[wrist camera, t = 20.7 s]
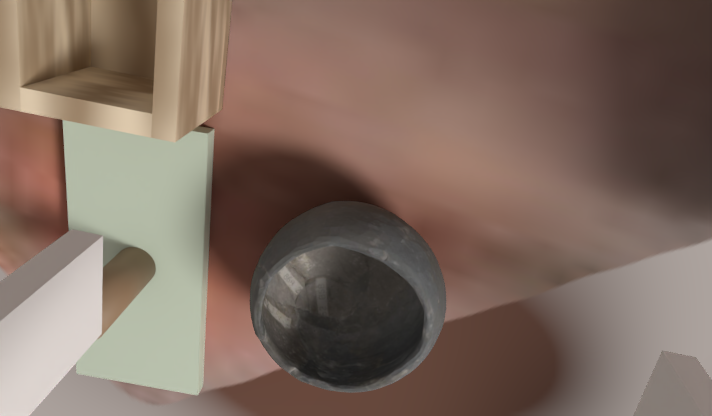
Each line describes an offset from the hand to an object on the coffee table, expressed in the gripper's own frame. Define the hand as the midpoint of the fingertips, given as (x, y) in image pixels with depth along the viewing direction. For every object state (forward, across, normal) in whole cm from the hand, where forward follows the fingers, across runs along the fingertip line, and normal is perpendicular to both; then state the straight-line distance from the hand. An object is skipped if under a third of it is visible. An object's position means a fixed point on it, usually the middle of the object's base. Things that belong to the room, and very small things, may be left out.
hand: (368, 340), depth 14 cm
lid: (+35, +20, +20) cm, 45 cm away
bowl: (+35, +1, +16) cm, 38 cm away
